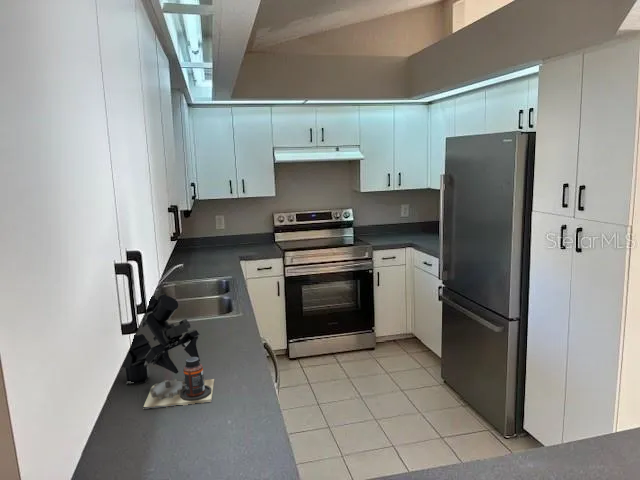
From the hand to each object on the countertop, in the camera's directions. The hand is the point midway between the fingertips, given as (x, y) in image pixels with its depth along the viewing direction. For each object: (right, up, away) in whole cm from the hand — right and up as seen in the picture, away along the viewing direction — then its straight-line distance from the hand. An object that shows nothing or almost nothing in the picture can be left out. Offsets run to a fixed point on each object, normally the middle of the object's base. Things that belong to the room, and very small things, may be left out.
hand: (188, 367), depth 152 cm
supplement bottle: (+2, -8, 0) cm, 9 cm away
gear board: (-3, -9, +2) cm, 10 cm away
